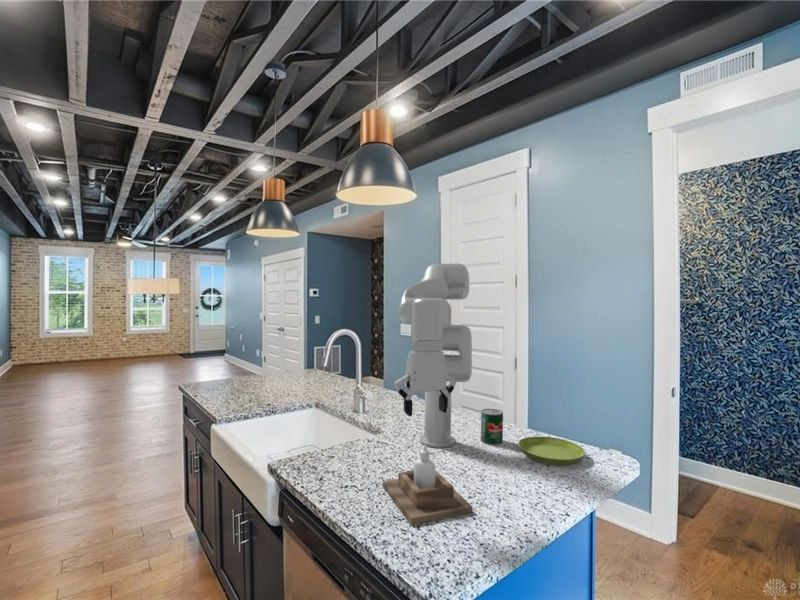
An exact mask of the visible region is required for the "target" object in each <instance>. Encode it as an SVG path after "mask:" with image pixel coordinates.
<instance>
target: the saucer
mask: <svg viewBox="0 0 800 600" xmlns="http://www.w3.org/2000/svg"><path fill="white" fill-rule="evenodd" d="M517 444H518V446H519V449H520V451H521V452H522V453H523V454H524V455H525V456H526V457H528V458H529V459H531V460H532V461H534V462H537V463H540V464H544V465H550V466H557V467H558V466H562V467H564V466H565V465H566V466H571V464H572V465H574V464H576V463H578V462H579V461H581V459H582V458H583V457H584V456H585V454H586V450H585V449H584V448H583V447H581V446H580V445H578V444H577V443H575V442H572V441H569V440H566V439H562V438H558V437H553V436H529V437H524V438H522V439H519V441H518V443H517Z"/></svg>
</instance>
